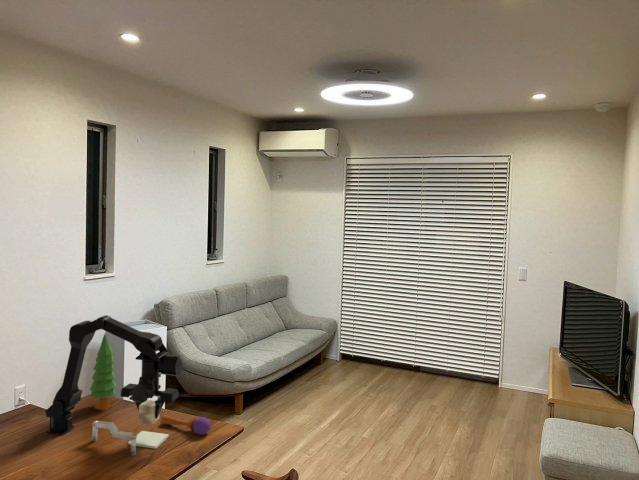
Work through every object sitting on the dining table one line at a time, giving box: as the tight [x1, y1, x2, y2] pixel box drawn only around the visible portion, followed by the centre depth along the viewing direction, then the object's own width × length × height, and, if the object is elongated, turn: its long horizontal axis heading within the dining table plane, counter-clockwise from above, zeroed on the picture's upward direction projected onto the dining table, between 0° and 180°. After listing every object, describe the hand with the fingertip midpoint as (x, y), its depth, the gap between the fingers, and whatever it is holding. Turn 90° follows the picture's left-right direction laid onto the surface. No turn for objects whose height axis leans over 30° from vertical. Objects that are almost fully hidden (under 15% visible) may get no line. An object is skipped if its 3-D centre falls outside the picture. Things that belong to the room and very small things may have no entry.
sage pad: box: [127, 430, 169, 450], centre depth 174 cm, size 10×9×1 cm
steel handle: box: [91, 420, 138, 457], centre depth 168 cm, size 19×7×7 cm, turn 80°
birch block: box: [138, 399, 161, 425], centre depth 173 cm, size 5×5×6 cm
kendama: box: [160, 414, 212, 436], centre depth 184 cm, size 6×6×20 cm
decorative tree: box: [89, 333, 117, 411], centre depth 199 cm, size 10×9×30 cm
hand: (149, 417), depth 173 cm, fingers closed on birch block, 5 cm apart
